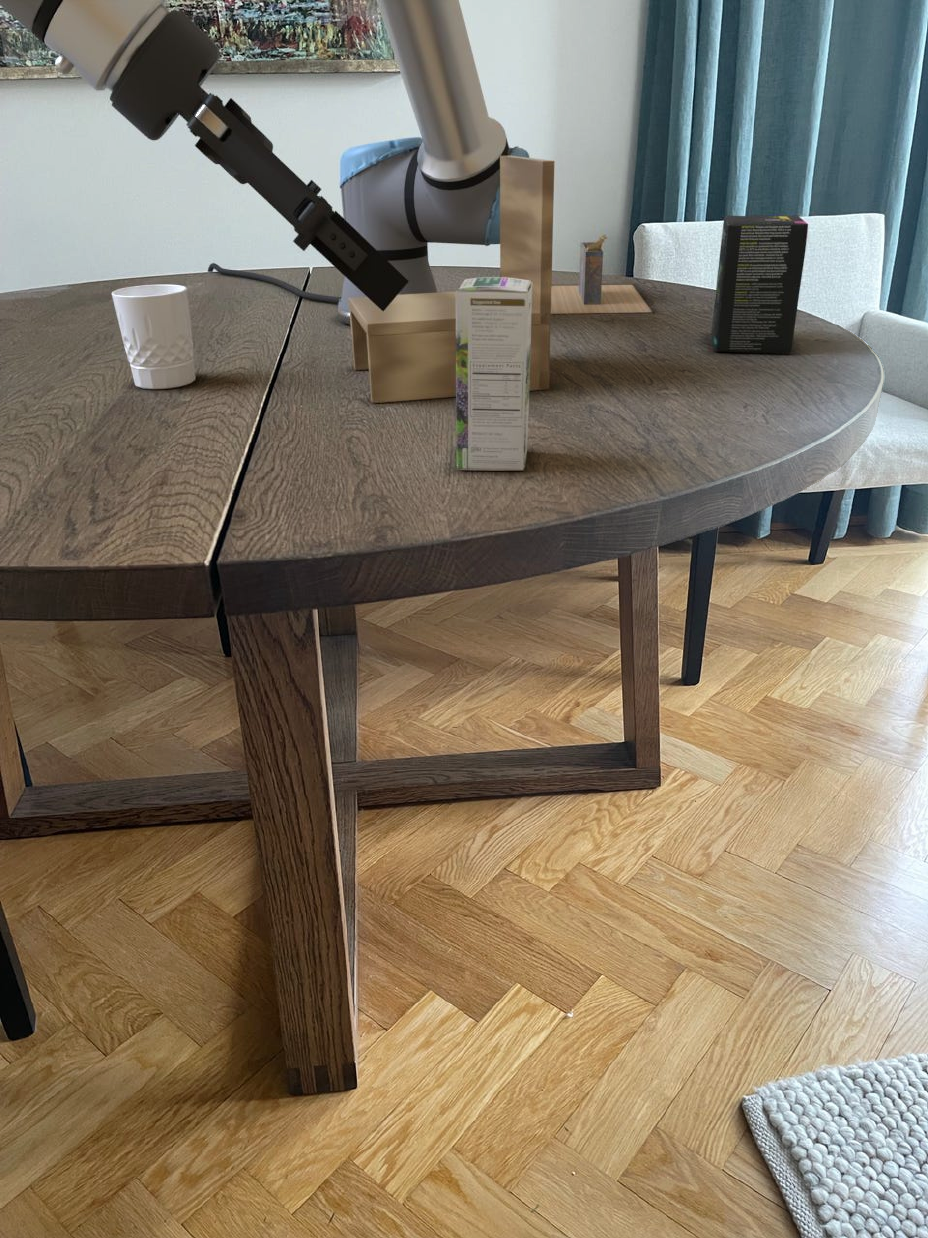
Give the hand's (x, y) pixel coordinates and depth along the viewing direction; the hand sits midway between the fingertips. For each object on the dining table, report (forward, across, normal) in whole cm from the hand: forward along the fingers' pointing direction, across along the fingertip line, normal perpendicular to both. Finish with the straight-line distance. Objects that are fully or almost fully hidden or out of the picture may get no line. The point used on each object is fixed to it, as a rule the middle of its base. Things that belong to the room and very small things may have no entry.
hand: (381, 281), depth 70 cm
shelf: (+18, -29, -3) cm, 34 cm away
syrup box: (+17, 0, -4) cm, 18 cm away
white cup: (-4, -37, -25) cm, 45 cm away
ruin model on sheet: (+41, -72, +20) cm, 86 cm away
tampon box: (+46, -34, +25) cm, 63 cm away
